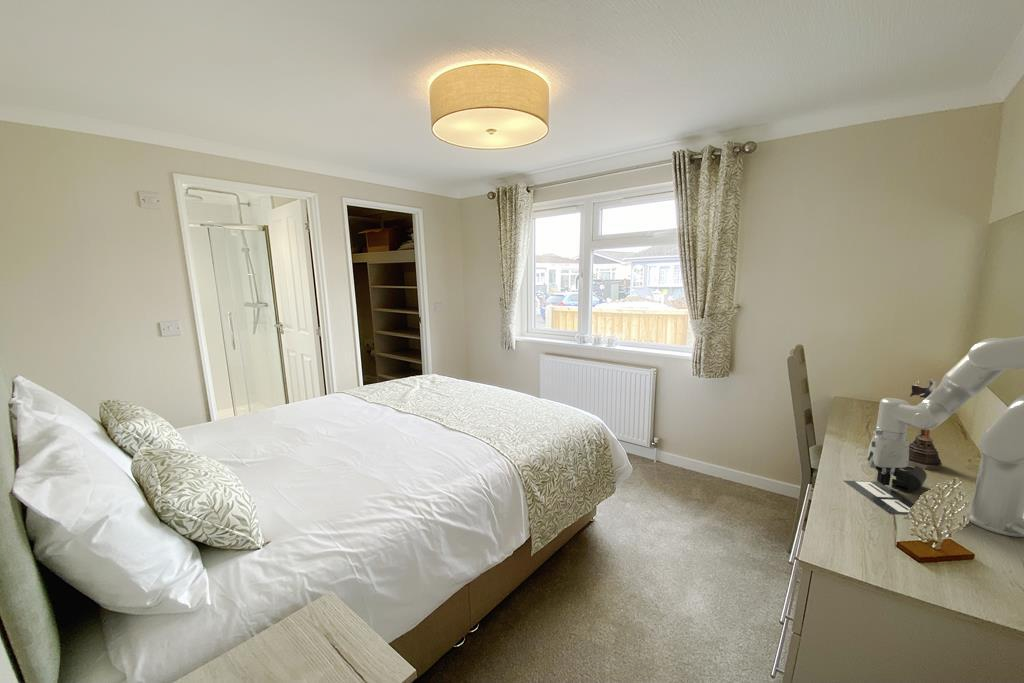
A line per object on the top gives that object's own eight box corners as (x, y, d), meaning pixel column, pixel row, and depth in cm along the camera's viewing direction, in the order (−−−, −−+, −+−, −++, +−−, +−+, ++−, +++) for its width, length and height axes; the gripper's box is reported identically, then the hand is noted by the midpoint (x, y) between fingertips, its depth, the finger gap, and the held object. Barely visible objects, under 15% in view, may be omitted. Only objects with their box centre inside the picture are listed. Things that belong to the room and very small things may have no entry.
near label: (916, 513, 122) (916, 512, 122) (899, 512, 123) (899, 511, 123) (897, 500, 129) (897, 499, 129) (880, 499, 130) (880, 499, 130)
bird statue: (899, 449, 166) (911, 369, 160) (944, 460, 156) (959, 375, 150) (890, 460, 156) (903, 376, 150) (938, 473, 146) (953, 382, 140)
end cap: (919, 496, 131) (922, 477, 130) (890, 487, 137) (893, 469, 136) (925, 486, 137) (928, 468, 136) (897, 478, 142) (900, 461, 141)
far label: (893, 497, 130) (893, 497, 130) (877, 497, 131) (877, 496, 131) (869, 482, 140) (870, 481, 140) (854, 481, 141) (854, 481, 141)
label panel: (932, 515, 121) (932, 515, 121) (889, 513, 122) (889, 513, 122) (879, 482, 140) (879, 481, 140) (843, 480, 142) (843, 480, 142)
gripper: (875, 438, 131) (868, 488, 134) (924, 439, 130) (916, 489, 133) (858, 429, 138) (851, 477, 141) (904, 430, 137) (896, 478, 140)
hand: (882, 483), depth 137 cm, fingers closed
